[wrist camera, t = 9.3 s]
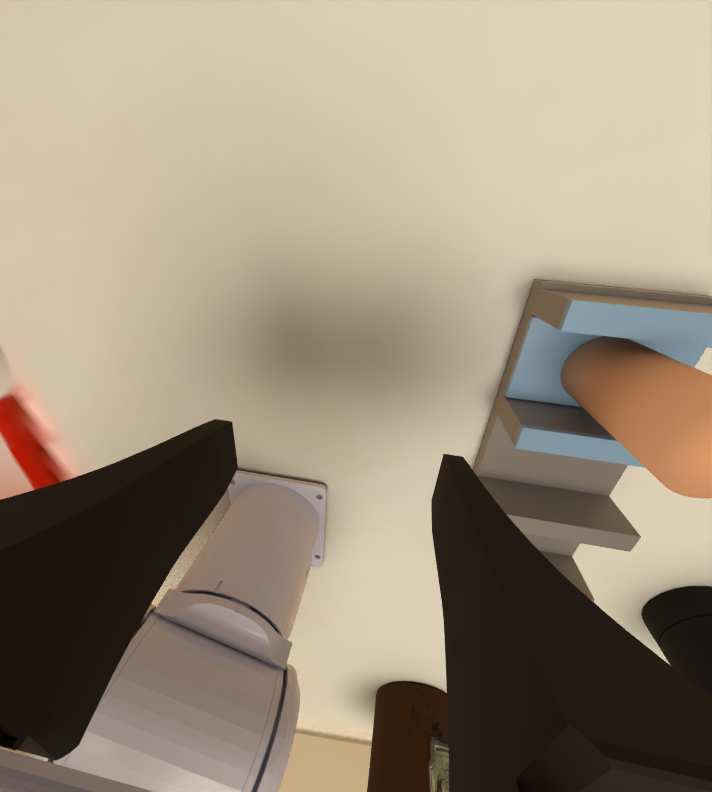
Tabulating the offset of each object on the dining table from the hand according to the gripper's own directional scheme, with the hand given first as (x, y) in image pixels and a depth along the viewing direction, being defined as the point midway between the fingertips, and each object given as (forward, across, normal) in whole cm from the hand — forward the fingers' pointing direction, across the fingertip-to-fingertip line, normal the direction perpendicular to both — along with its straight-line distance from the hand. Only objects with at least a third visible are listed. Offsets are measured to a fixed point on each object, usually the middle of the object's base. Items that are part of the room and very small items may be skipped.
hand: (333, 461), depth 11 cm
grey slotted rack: (+9, -12, +4) cm, 16 cm away
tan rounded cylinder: (+8, -12, -2) cm, 15 cm away
